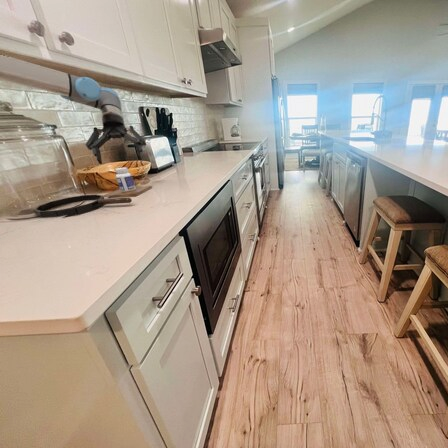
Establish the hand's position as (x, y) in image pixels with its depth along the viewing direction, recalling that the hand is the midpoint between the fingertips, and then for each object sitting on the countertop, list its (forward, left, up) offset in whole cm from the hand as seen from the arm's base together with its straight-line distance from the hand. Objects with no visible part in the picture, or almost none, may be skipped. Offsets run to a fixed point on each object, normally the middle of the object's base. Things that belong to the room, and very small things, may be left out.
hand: (120, 159), depth 97 cm
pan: (0, -23, -12) cm, 26 cm away
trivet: (+2, -5, -12) cm, 13 cm away
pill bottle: (+2, -4, -12) cm, 13 cm away
